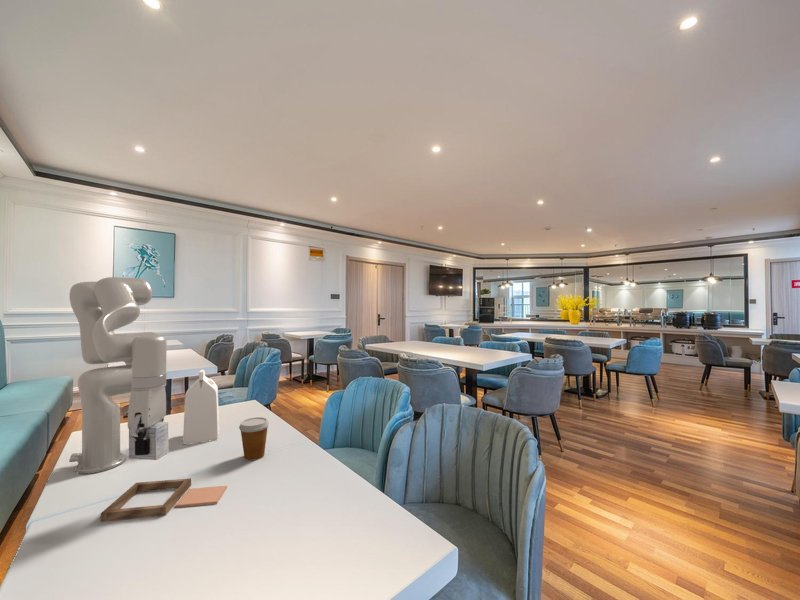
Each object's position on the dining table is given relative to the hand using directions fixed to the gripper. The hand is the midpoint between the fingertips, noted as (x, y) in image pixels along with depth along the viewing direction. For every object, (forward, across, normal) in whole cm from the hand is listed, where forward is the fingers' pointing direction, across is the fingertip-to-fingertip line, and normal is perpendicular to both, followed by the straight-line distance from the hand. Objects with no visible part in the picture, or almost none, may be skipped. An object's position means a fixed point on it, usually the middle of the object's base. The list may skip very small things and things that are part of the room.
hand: (148, 448), depth 93 cm
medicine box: (+2, 0, 0) cm, 2 cm away
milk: (+15, -45, -4) cm, 48 cm away
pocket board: (+14, +1, +1) cm, 14 cm away
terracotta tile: (+14, +1, +14) cm, 19 cm away
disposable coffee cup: (+14, -23, +21) cm, 35 cm away
